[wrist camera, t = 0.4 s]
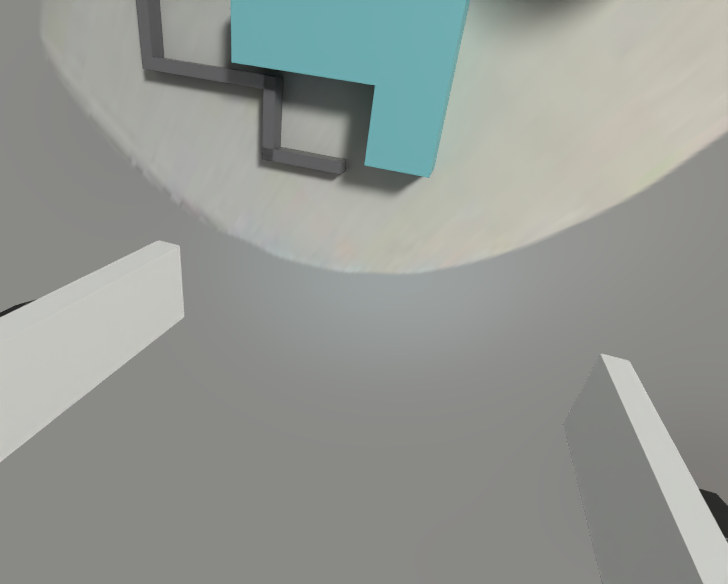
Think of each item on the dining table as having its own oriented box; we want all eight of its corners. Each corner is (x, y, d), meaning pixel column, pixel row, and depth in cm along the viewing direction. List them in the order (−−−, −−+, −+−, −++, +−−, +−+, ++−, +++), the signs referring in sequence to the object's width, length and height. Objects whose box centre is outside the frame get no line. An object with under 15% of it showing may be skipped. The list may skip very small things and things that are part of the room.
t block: (487, -83, 27) (488, -108, 23) (434, 168, 34) (429, 177, 31) (258, -104, 29) (229, -130, 26) (255, 135, 37) (232, 140, 33)
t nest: (378, -126, 27) (373, -136, 26) (345, 171, 36) (340, 174, 35) (135, -145, 30) (120, -155, 29) (160, 135, 39) (149, 136, 38)
